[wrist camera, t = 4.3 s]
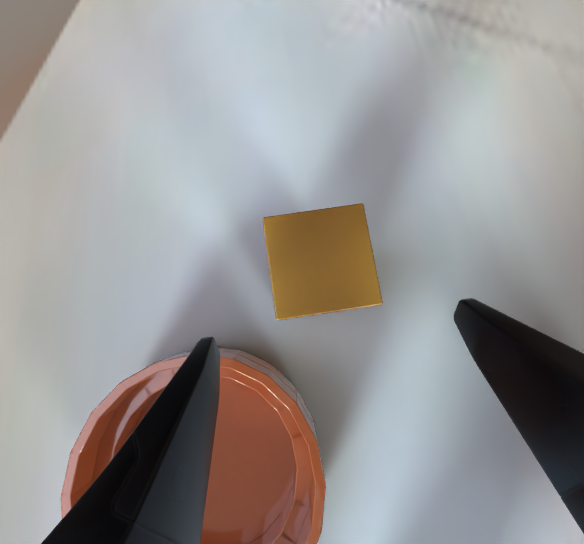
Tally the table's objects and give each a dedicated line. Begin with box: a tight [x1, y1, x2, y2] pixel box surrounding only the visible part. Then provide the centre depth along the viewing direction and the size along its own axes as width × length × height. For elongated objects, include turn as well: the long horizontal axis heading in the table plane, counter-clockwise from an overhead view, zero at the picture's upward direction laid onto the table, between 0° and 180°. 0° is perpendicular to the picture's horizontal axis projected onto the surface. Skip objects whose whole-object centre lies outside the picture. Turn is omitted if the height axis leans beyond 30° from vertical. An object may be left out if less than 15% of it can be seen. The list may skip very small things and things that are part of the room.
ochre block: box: [263, 204, 383, 320], centre depth 16 cm, size 4×4×10 cm
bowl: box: [61, 348, 326, 544], centre depth 18 cm, size 15×15×4 cm
